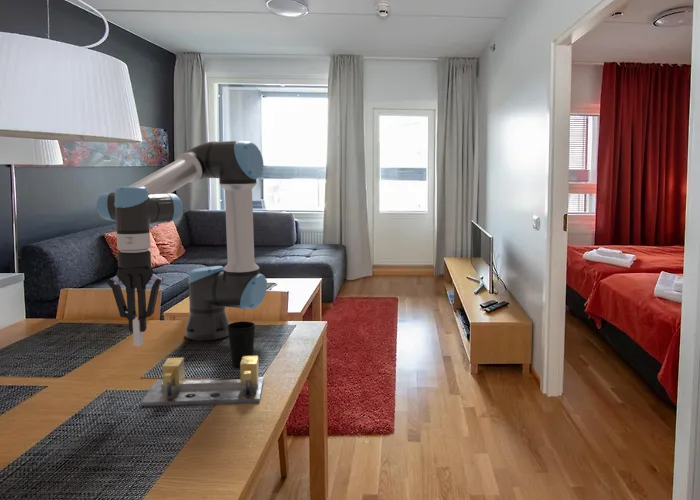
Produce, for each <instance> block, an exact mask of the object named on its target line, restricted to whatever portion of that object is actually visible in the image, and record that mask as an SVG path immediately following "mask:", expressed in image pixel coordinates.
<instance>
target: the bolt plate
mask: <svg viewBox="0 0 700 500" xmlns="http://www.w3.org/2000/svg"><path fill="white" fill-rule="evenodd" d="M232 379H241V378H240V377H217V378H216V377H215V378H214V377H213V378H212V377H211V378H209V377H208V378H184V379H183V381H197V380H232ZM264 380H265V377H264V376H259V377H258V387H252V388H250V394H249V395H247V394H246V388H218V389H185V390H172V395H170V396H168V395H167V390H161V384H162V382H163V379H156V380H155V381H154V383H153V384H152V386H151V387H150V389H149V390H148V391H147V393H146V395H144V397H143V398H142V400H141V401H140V407H156V406H157V407H159V406H160V407H161V406H191V405H195V406H196V405H197V406H198V405H221V404H222V405H223V404H225V405H226V404H227V405H228V404H253V403H254V404H255V403H256V404H257V403H260V402H261V397H262V396H261V395H262V390H263V386H264V382H265V381H264Z"/></svg>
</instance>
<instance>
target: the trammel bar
mask: <svg viewBox="0 0 700 500" xmlns="http://www.w3.org/2000/svg"><path fill="white" fill-rule="evenodd" d="M259 361H260V360H259V355H253V356H243V357H242V360H241V363H240V369H239V371H240V372H239V373H240V377H239V378H241V379H232V380H197V381H182V383H181V384H180V386H171V390H185V389H218V388H246V394H247V395H249V394H250V388H252V387H258V377H260V376H259V375H260V371H259V369H260V366H259V364H260V363H259ZM161 390H167V386H163V382H162V384H161Z"/></svg>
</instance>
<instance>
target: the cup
mask: <svg viewBox="0 0 700 500" xmlns="http://www.w3.org/2000/svg"><path fill="white" fill-rule="evenodd" d="M255 327H256V323H254V322H252V321H245V320H244V321H243V320H242V321H234V322H231V323H230V324H229V325H228V333H229V335H228V339H229V346H230V347H229V348H230V356H231V362H232V367H233V368H234V369H238V370H240V363H241V360H242V357H243V356H254V343H255V329H256V328H255Z"/></svg>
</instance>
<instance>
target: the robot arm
mask: <svg viewBox="0 0 700 500" xmlns="http://www.w3.org/2000/svg"><path fill="white" fill-rule="evenodd" d="M263 171H264V158H263V155H262V152H261V150H260V149H259V147H258V146H257V144H255V143H254V142H252V141H246V140H236V141H235V140H233V141H231V140H230V141H226V140H225V141H207V142H204V143H201V144H198V145H197V146H195V147H191V148H190V149H188V150H186V151H184V152H182V153H180V154H178V155H177V157H176V158H175V161H173V162H171V163H169V164H167V165H165V166H164V167H161V168H159V169H158V170H156V171H154V172H152V173H151V174H149V175H146V176H145V177H143V178H140V180H138V181H136V182H134V183H132V184H130V185H129V186H118V187H116V188H115V190H114V191H110V192H104V193H101V194H100V195H99V196H98V198H97V201H96V205H95V206H96V210H97V211H96V212H97V214H98V215H99V216H100V218H101V219H103V220H106V221H113V222H115V225H116V244H117V250H119V251H118V252H117V265H118V266H117V267H118V269H117V272H116V275H115V276H113V277H111V278H109V279H108V280H107V284H108V286H109V287H110V288H111V290H112V291H111V292H112V294H113V296H114V300H115V303H116V304H115V305H116V306H117V309H118V312H119V316H120V317H121V318H126V319H127V320H128V330H129V333H133V334H132V337H133V339H132V340H133V347H140V346H141V345H143V343H144V332H146V330H147V318H149V317H151V316H152V315H154V314H155V313H154V312H155V307H156V304H157V298H158V294H159V290H160V289H159V288H160V287H161V284H162V283H163V281H164V278H163V277H162V276H158V275H156V274H155V273H154V270H153V268H152V253H151V251H150V250H149V249H150V248H151V234H150V232H151V230H150V228H151V227H150V226H151V225H152V224H161V223H171V222H175V221H178V220H179V218H180V217H182V214H183V213H184V212H183V211H184V208H183V207H184V206H183V202H182V200H181V198H180V197H179V196H178V195H177V194H175V193H173V192H175V191H176V190H179V189H180V188H182V187H183V186H185V185H187V184H188V183H196V182H198V181H200V180H204V179H219V185H220V186H221V188H223V189H224V198H225V199H224V202H225V203H224V205H225V207H224V208H225V225H226V226H225V228H226V251H227V252H226V253H227V255H226V256H227V264H226V265H225V266H222V265H214V266H205V267H200V268H195V269H192V270H191V271H189V273H188V283H187V284H188V299H189V300H188V301H189V316H188V319H187V323H186V325H185V330H184V332H185V333H184V334H185V337H186V338H187V339H188V340H189V339H190V340H193V341H214V340H220V339H224V338H226V337H229V333H228V325H229V324H231V323H230V320H229V318H228V315H227V312H226V308H236V309H242V310H246V309H248V310H253V309H256V308H258V307H259V306H261V304H262V303H263V301H264V299H265V297H266V293H267V291H268V290H267V289H268V281H267V278H266V276H265V275H264V274H262V273H260V266H259V265H258V264H257V263H256V262H255V243H254V239H255V238H254V237H255V235H254V234H255V233H254V211H253V209H254V208H253V189H254V188H255V186H256V185H257V180H258V179H259V178H261V176H262V175H263ZM150 281H151V285H152V286H151V289H150V293H149V299H148V303H147V296H146V290H147V285H148V284H149V283H150ZM121 283H122V285H123V286H124V287H125V293H126V301H125V297H124V295H123V291H122V286H121V285H120V284H121ZM136 294H137V310H138V312H137V310H136ZM136 312H137V313H136ZM137 314H138V317H137Z"/></svg>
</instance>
